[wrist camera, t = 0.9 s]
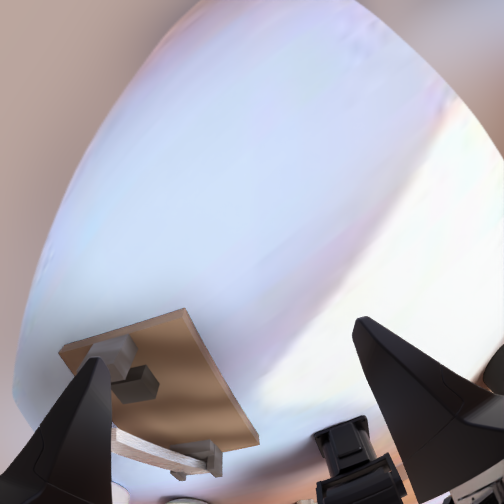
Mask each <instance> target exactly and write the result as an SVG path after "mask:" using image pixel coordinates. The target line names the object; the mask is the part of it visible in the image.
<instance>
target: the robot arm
mask: <svg viewBox="0 0 504 504" xmlns="http://www.w3.org/2000/svg"><path fill="white" fill-rule="evenodd" d="M352 339H353V342H354V345H355V348H356V351H357V354H358V357H359V360H360V363H361V366H362V369H363V372H364V374H365V377H366V379H367V381H368V383H369V386H370V388H371V390H372V392H373V394H374V397H375V399H376V401H377V403H378V406H379V408H380V410H381V412H382V415H383V417H384V419H385V422H386V424H387V426H388V428H389V431H390V433H391V436H392V438H393V440H394V443H395V445H396V447H397V450H398V452H399V455H400V457H401V460H402V462H403V465H404V467H405V470H406V472H407V475H408V478H409V480H410V483H411V485H412V488H413V490H414V493H415V496H416V498H417V501H418V503H419V504H422V503H424V502H426V501H429V500H431V499H433V498H435V497H438V496H440V495H442V494H444V493H446V492H448V491H450V494H451V495H450V496H448V497H447V498H445V499H444V501H443V504H504V396H503V395H497V394H494V393H492V392H490V391H488V390H486V389H484V388H482V387H480V386H478V385H476V384H474V383H472V382H470V381H469V380H467V379H465V378H463V377H461V376H459V375H458V374H456V373H455V372H453V371H451V370H450V369H448V368H447V367H445V366H444V365H442V364H441V365H440V363H439V362H437V361H436V360H434V359H433V358H431V357H430V356H428V355H427V354H425V353H424V352H422V351H421V350H419V349H418V348H416V347H414V346H413V345H411V344H410V343H408V342H407V341H405V340H404V339H402V338H401V337H399V336H398V335H396V334H394V333H393V332H391V331H390V330H388V329H387V328H385V327H384V326H382V325H381V324H379V323H378V322H376V321H374V320H373V319H371V318H370V317H368V316H364V317H360V318H357V319H356V321H355V325H354V329H353V332H352ZM111 431H112V399H111V374H110V371H109V369H108V367H107V366H106V364H105V363H104V361H103V359H102V358H101V357H99V356H96V357H90V358H88V360H87V361H86V362H85V364H84V365H83V366H82V367H81V369H80V370H79V371H78V373H77V374H76V375H75V377H74V378H73V379H72V381H71V382H70V383H69V385H68V386H67V388H66V389H65V390H64V392H63V393H62V394H61V396H60V397H59V399H58V400H57V401H56V403H55V404H54V406H53V407H52V408H51V410H50V411H49V413H48V414H47V416H46V417H45V418H44V420H43V421H42V423H41V424H40V427H38V429H37V430H36V431H35V433H34V434H33V436H32V437H31V439H30V440H29V442H28V443H27V444H26V446H25V447H24V448H23V449H22V451H21V452H20V453H19V454H18V456H17V457H16V458H15V459H14V461H13V462H12V463H11V464H10V466H9V467H8V468H7V469H6V471H5V472H4V473H3V474H1V475H0V504H113V503H112V483H111ZM314 437H315V440H316V442H317V445H318V447H319V450H320V452H321V454H322V457H323V458H325V459H326V463H327V466H328V470H329V473H330V477H331V478H330V479H327V480H324V481H319V482H316V484H317V488H316V494H317V503H318V504H403V502H402V499H401V498H402V497H404V496H406V495H407V492H406V490H405V487H404V485H403V482H402V480H401V478H400V476H399V473H398V471H397V469H396V467H395V465H394V463H393V461H392V459H391V457H390V455H389V453H386V454H384V455H383V456H381V457H379V458H377V456H376V454H375V451H374V449H373V447H372V444H371V442H370V436H369V428H368V421H367V417H366V416H361V417H359V418H356V419H354V420H351V421H349V422H346V423H343V424H341V425H338V426H335V427H332V428H330V429H327V430H324V431H321V432H318V433H316V434H315V435H314ZM389 471H391V472H389Z"/></svg>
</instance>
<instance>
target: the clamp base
mask: <svg viewBox="0 0 504 504" xmlns="http://www.w3.org/2000/svg"><path fill="white" fill-rule="evenodd" d="M59 355H60V356H61V358H62V359H63V361H64V362H65V363H66V365H67V366H68V368H69V369H70V370H71V372H72V373H73V374H74V376H75V375H76V374H77V373H78V371H79V370H80V369H81V367H82V366H83V365H84V364H85V362H86V361H87V360H88V358H90V357H96V356H99V357H101V358H102V359H103V361H104V363H105V364H106V366H107V367H108V369H109V371H110V374H111V399H112V422H113V423H114V424H115V425H116V426H117V427H118V428H119V429H120V430H122V431H124V432H127V433H129V434H131V435H133V436H136V437H138V438H140V439H143V440H145V441H147V442H150V443H152V444H155V445H157V446H160V447H162V448H165V449H168V450H171V451H173V452H176V453H179V454H182V455H185V456H188V457H191V458H194V459H197V460H200V461H204V462H206V461H207V470H208V471H209V472H210V473H211V474H212V475H213V476H214V477H215V478H216V477H222V452H227V451H232V450H237V449H242V448H247V447H252V446H256V445H260V443H259V435H258V433H257V431H256V430H255V428H254V427H253V425H252V424H251V422H250V421H249V419H248V418H247V416H246V414H245V413H244V411H243V410H242V408H241V406H240V405H239V403H238V402H237V400H236V398H235V397H234V395H233V393H232V392H231V390H230V388H229V387H228V385H227V383H226V382H225V380H224V378H223V376H222V375H221V373H220V371H219V370H218V368H217V366H216V364H215V363H214V361H213V359H212V357H211V355H210V354H209V352H208V350H207V348H206V346H205V345H204V343H203V341H202V339H201V337H200V335H199V333H198V332H197V330H196V328H195V326H194V324H193V322H192V320H191V318H190V316H189V314H188V312H187V311H186V309H185V308H183V309H180V310H177V311H174V312H170V313H167V314H164V315H161V316H158V317H155V318H152V319H149V320H145V321H142V322H139V323H136V324H133V325H130V326H126V327H123V328H120V329H117V330H113V331H110V332H107V333H103V334H100V335H97V336H93V337H90V338H87V339H83V340H80V341H76V342H73V343H70V344H66V345H64V347H63V348H62V349H61V350H60V352H59ZM170 474H172V475H173V476H174V477H175V478H176V479H178V480H179V481H186V475H185V474H184V473H180V472H175V471H170Z"/></svg>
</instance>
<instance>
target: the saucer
mask: <svg viewBox="0 0 504 504" xmlns="http://www.w3.org/2000/svg"><path fill="white" fill-rule="evenodd" d="M166 504H208V503H206V502H205V501H202V500H199V499H194V498H181V499H176V500H172V501H170V502H168V503H166Z"/></svg>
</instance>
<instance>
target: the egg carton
mask: <svg viewBox="0 0 504 504" xmlns="http://www.w3.org/2000/svg"><path fill="white" fill-rule="evenodd" d="M297 504H318V503H314V500H313V499H308V500H300V501H297Z"/></svg>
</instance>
